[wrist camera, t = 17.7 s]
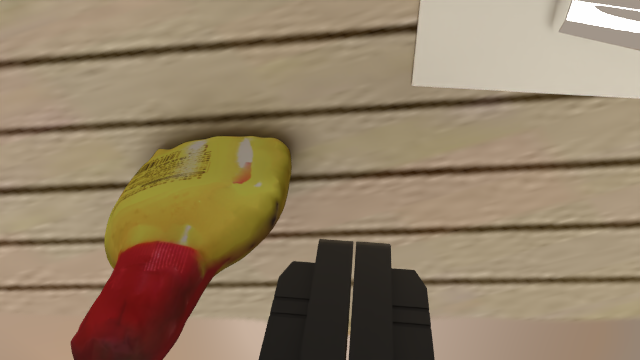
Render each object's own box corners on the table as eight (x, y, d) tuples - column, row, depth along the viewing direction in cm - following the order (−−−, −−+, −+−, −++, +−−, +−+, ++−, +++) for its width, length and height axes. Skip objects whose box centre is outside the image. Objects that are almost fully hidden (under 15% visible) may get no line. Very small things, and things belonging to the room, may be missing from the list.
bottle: (291, 107, 37) (197, 317, 20) (315, 184, 40) (249, 423, 23) (140, 137, 40) (-52, 341, 23) (173, 207, 43) (23, 433, 26)
